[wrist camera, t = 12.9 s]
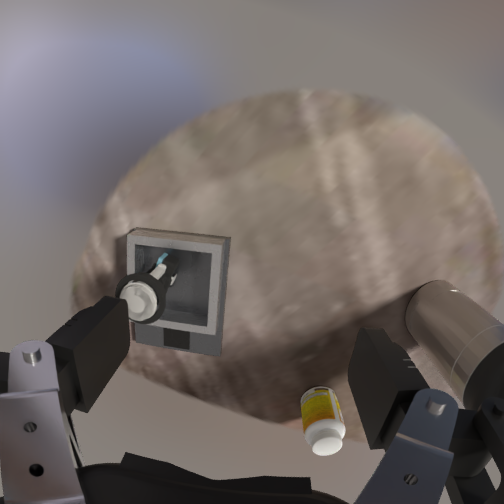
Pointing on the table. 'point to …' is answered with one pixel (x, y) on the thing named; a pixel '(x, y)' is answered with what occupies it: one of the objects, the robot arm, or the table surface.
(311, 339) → the table surface
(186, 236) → the gray open box
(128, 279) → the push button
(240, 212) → the table surface
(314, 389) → the supplement bottle
